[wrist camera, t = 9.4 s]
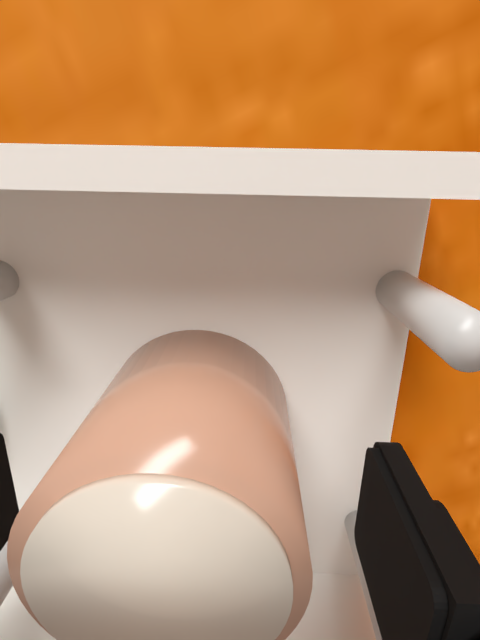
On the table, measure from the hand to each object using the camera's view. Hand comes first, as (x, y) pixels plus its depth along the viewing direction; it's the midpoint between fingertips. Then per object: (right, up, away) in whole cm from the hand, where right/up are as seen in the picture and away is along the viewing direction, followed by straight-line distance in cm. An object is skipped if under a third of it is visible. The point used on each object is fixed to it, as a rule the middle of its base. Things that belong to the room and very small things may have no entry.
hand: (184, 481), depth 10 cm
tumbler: (0, +1, +3) cm, 4 cm away
